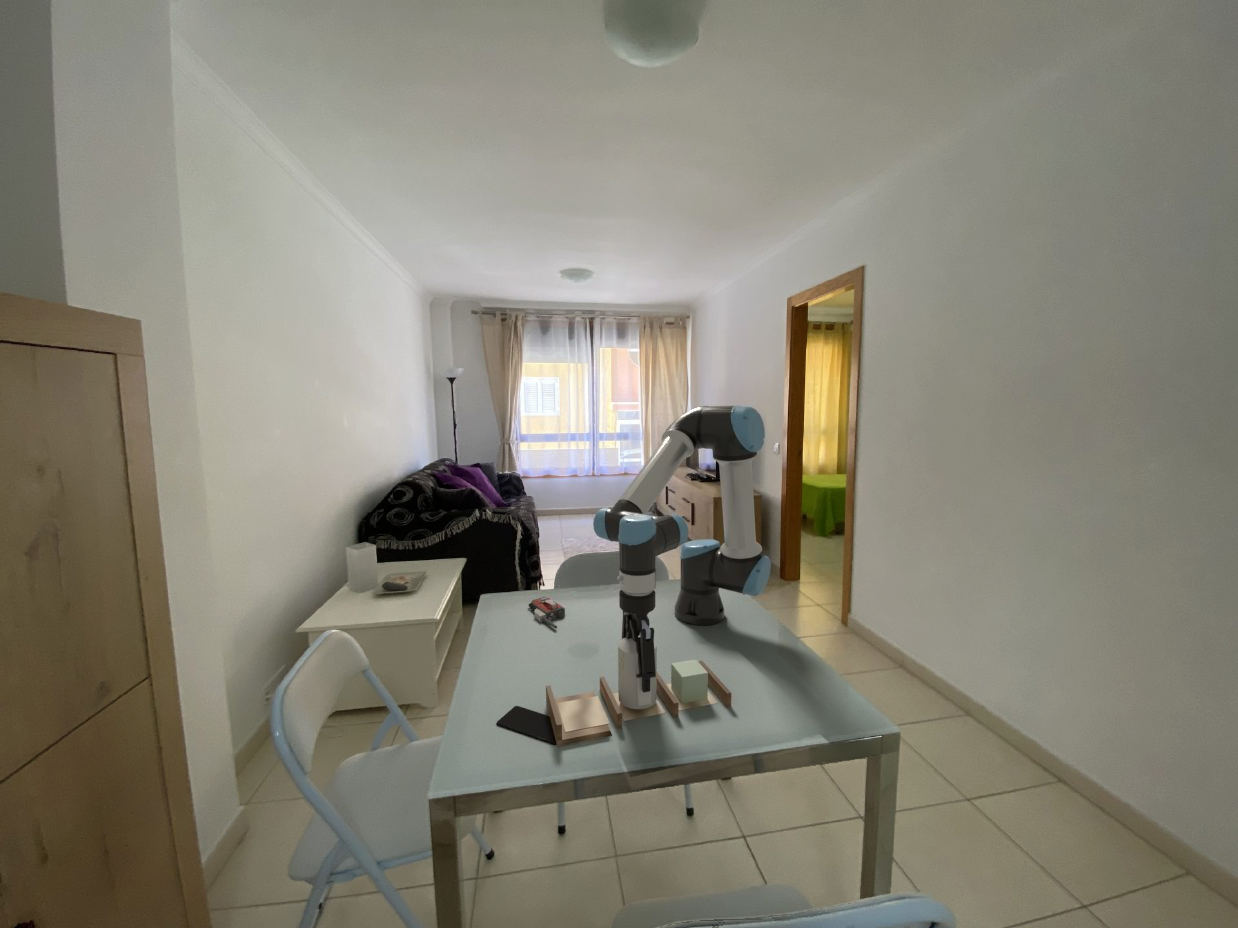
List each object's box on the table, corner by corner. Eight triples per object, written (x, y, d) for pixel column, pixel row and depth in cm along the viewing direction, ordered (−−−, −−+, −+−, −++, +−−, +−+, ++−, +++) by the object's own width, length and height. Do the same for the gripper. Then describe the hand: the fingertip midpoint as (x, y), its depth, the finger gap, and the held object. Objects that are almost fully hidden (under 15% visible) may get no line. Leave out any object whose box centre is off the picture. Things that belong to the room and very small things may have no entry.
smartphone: (556, 744, 97) (494, 722, 103) (556, 748, 97) (494, 726, 104) (575, 723, 103) (515, 704, 110) (575, 727, 103) (515, 708, 110)
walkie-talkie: (522, 610, 161) (552, 633, 145) (521, 597, 161) (552, 618, 145) (546, 603, 167) (579, 625, 151) (546, 590, 166) (578, 610, 150)
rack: (701, 677, 120) (702, 660, 120) (731, 712, 107) (731, 692, 107) (546, 704, 110) (545, 685, 110) (557, 746, 97) (556, 725, 96)
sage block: (695, 684, 116) (696, 659, 115) (707, 698, 110) (707, 672, 109) (671, 688, 114) (671, 663, 113) (681, 703, 108) (682, 676, 107)
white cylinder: (625, 684, 114) (625, 633, 112) (660, 690, 111) (660, 638, 109) (613, 704, 106) (612, 650, 104) (650, 712, 103) (650, 656, 102)
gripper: (606, 575, 114) (607, 670, 117) (636, 611, 94) (636, 725, 97) (638, 571, 116) (638, 665, 119) (673, 606, 97) (672, 717, 99)
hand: (637, 692), depth 108 cm, fingers closed on white cylinder, 8 cm apart
